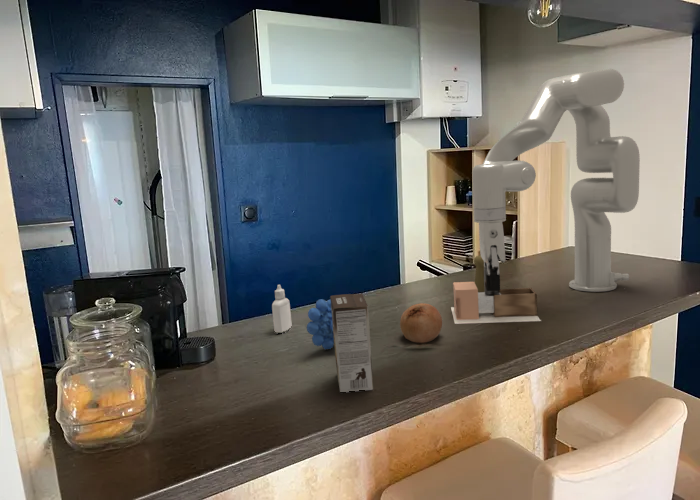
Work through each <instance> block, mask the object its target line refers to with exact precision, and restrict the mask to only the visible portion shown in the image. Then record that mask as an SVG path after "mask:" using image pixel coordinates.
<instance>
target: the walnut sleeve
mask: <svg viewBox="0 0 700 500" xmlns="http://www.w3.org/2000/svg"><path fill="white" fill-rule="evenodd" d="M500 294H501V295H494V310H495V313H493V314H494V316H495V317H516V316H538V293H537V292H536V291H535V290H534V289H533V288H532V287H518V288H517V287H516V288H500Z"/></svg>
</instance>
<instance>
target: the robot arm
mask: <svg viewBox="0 0 700 500" xmlns="http://www.w3.org/2000/svg"><path fill="white" fill-rule="evenodd" d="M624 88H625V80H624V78H623V75H622V74H621V73H620V72H619V71H618V70H617V69H614V68H607V69H601V70H595V71H594V70H593V71H584V72H576V73H571V74H567V75H562V76H557V77H552V78H549V79H546V81H544V82H543V83H542V84H540V86H539V87H538V89H537V91H536V93H535V95H534V96H533V98H532V100H531V102H530V104H529V106H528V107H527V109H526V112H525V113H524V115H523V117H522V118H521V120H520V122H519V123H518V124H517V125H515V126H514V127H513V128H511V129H510V130H509V131H508V132H506V133H505V134H504V135H503V136H502V137H501V138H499V140H498V141H496V142H495V144H494V145H493V146H492V147H491V148H490V149H489V151H488V153H487V154H486V157H485V158H484V160H483V162H482V164H476V165H475V166H473V168H472V172H471V174H472V176H471V177H472V178H471V179H472V196H473V198H472V201H473V202H472V203H473V220H474V221H473V222H474V223H478V236H479V237H478V238H479V240H478V241H479V252H480V253H479V255H481V257H482V259H483V260H484V266H487V275H486V289H487V291H499V290H500V289H501V275H500V262H501V263H505V262H506V248H505V234H504V224H503V222H505V221H507V219H506V218H507V214H506V212H507V211H506V209H507V208H506V205H507V204H506V192H525V190H528V189H529V188H530V187H532V186H533V184H534V183H535V180H536V177H537V172H536V170H535V168H534V166H533V165H532V164H531V163H529V162H527V161H526V160H525V161H524V160H515V159H516V158H517V157H519V156H520V155H522V154H523V153H526V152H528V151H530V150H532V149H535V148H537V147H539V146H541V145H543V144H544V143H546V142H548V141H549V140H551V137H552V136H553V134H554V132H555V130H556V129H557V126H558V124H559V123H560V121H561V119H562V117H563V115H564V113H565V112H566V111H568V112H569V113H570V115H571V116H572V118H573V120H574V122H575V129H576V132H575V133H576V138H575V139H576V146H575V147H576V151H575V152H576V166H577V168H578V170H579V171H580V172H584V173H589V174H605V173H606V174H608V173H609V174H610V173H612V177H587V178H583V179H579V180H578V181H577V182H575V183H574V184H573V185H572V187H571V190H570V202H571V205H572V206H571V207H572V211H573V218H574V279H572V280H570V281H569V283H568V286H569V287H570V288H571V289H573V290H576V291H581V292H589V293H590V292H592V293H596V292H597V293H600V292H609V291H613V290H616V289H617V286H618V284H617V282H618V281H629V280H630V275H629V273H621V272H614V271H612V270H611V269H612V267H611V266H612V251H611V250H612V225H611V223H610V219H609V218H608V216H607V214H606V213H614V214H615V213H616V214H617V213H618V214H619V213H620V214H624V213H629V212H631V211H633V210H634V209H635V207H636V206H637V205H638V202H639V195H640V167H641V166H640V159H641V158H640V149H639V146H638V144H637V142H636V141H635V140H634V139H633V138H631V137H629V136H626V135H625V136H623V135H622V136H611V122H610V120H611V119H610V116H609V115H608V112H607V111H606V109H605V108H604V107H603V106H602V105H608V104H612V103H614V102H616V101H617V100H618V99H620V97H621V96H622V94H623V92H624ZM499 261H500V262H499ZM490 265H492V266H490Z"/></svg>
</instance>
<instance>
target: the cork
mask: <svg viewBox="0 0 700 500" xmlns="http://www.w3.org/2000/svg"><path fill="white" fill-rule="evenodd" d="M473 264H474V266H475V274H474V275H475V276H474V282H475V284H476V287H477V289H478V292H485V286H484V260H483V259H482V257H481V254H479V255H476V256H475V257H474V259H473Z"/></svg>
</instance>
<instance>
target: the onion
mask: <svg viewBox="0 0 700 500" xmlns="http://www.w3.org/2000/svg"><path fill="white" fill-rule="evenodd" d="M442 327H443V318H442V315H441V313H440V311H439V310H438V309H437V308H436V307H435V306H433V305H432V304H429V303H425V302H422V303H415V304H411V306H409V307H408V308H406V309H405V310H404V311H403V312H402V314H401V315H400V322H399V328H400V330H401V333H402V335H403V336H404V339H407V340H408V342H409V341H410V342H412V343H417V344H426V343H429V342H431V341H434V340H435V339H436V338H437V337H438V336H439V335H440V333H441V330H442V329H443V328H442Z"/></svg>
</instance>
